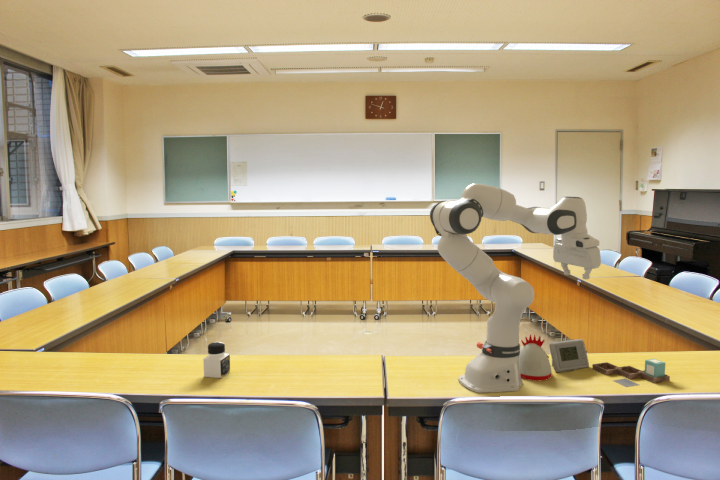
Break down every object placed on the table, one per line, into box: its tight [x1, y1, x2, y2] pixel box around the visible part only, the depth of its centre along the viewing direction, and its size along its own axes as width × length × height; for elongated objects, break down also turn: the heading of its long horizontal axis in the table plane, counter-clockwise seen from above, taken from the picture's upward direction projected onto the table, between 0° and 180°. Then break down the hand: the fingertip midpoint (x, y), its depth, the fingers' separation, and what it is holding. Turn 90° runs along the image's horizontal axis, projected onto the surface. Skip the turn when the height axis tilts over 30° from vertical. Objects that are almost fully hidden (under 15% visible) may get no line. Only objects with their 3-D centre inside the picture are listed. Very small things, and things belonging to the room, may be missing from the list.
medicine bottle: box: [202, 341, 231, 379], centre depth 175 cm, size 7×7×12 cm
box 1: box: [591, 361, 622, 376], centre depth 176 cm, size 7×7×2 cm
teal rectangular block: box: [644, 358, 666, 378], centre depth 168 cm, size 4×4×7 cm
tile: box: [612, 378, 640, 388], centre depth 165 cm, size 6×6×1 cm
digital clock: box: [548, 338, 590, 373], centre depth 180 cm, size 16×9×11 cm, turn 97°
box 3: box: [638, 369, 671, 384], centre depth 169 cm, size 7×7×2 cm
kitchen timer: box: [519, 333, 552, 382], centre depth 175 cm, size 14×14×15 cm
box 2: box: [615, 365, 645, 380], centre depth 173 cm, size 7×7×2 cm
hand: (576, 276), depth 173 cm, fingers open, 8 cm apart
